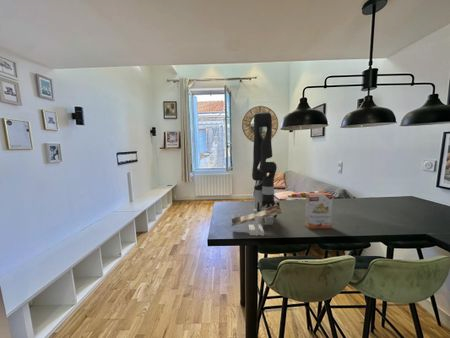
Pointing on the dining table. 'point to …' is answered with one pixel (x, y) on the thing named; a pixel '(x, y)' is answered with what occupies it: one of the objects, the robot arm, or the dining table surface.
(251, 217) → the beam
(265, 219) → the block
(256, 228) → the pivot stand
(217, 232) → the dining table surface
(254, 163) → the robot arm
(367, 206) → the dining table surface
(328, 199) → the cracker box
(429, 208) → the dining table surface
